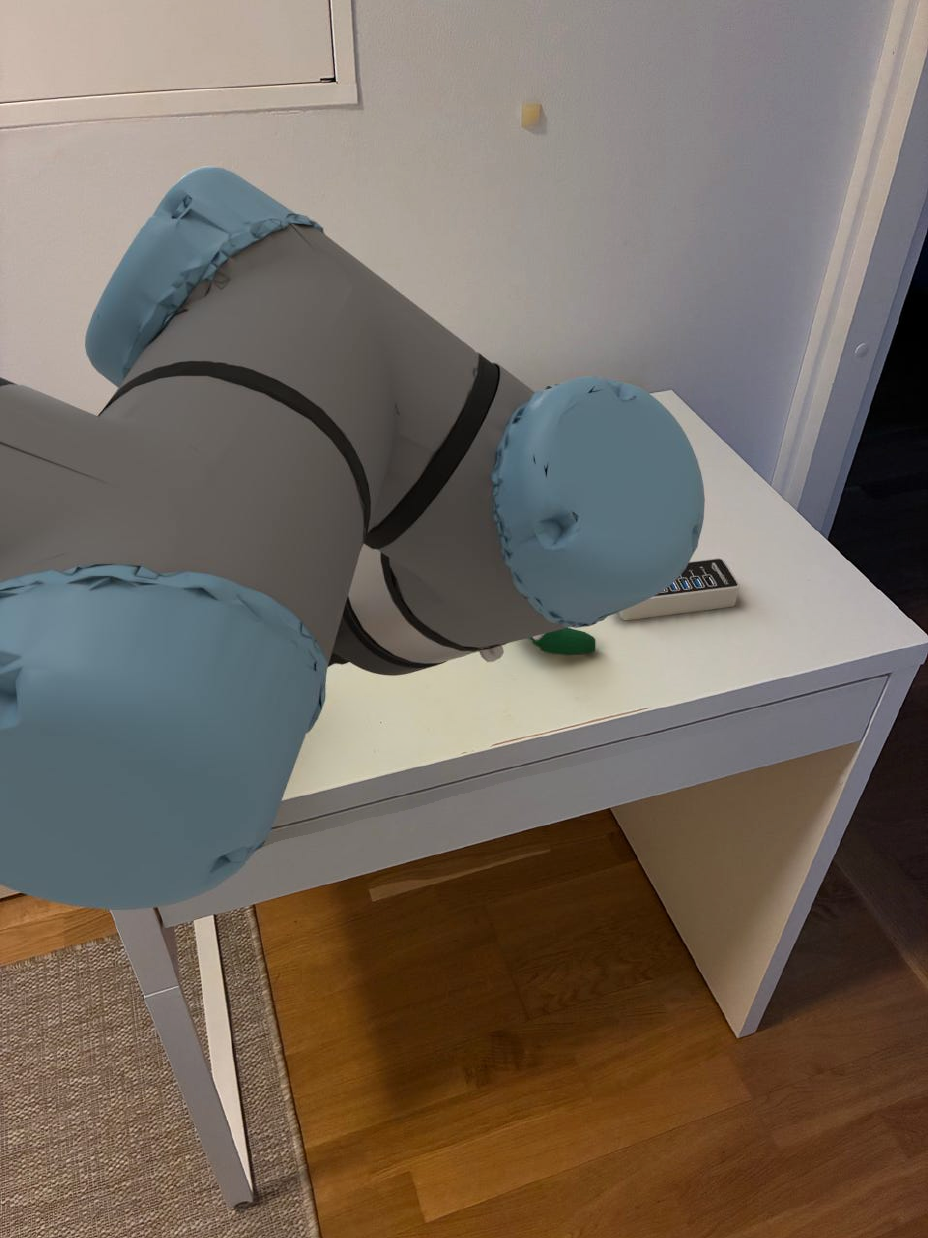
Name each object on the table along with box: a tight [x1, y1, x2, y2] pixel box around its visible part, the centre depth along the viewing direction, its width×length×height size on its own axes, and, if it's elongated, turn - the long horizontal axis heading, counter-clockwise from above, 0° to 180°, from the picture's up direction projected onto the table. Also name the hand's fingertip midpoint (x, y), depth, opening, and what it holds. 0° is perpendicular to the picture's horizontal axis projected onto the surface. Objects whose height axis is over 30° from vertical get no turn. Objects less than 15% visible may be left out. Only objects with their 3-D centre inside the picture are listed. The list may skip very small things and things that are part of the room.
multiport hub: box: [617, 557, 741, 621], centre depth 88 cm, size 4×11×2 cm, turn 101°
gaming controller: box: [529, 627, 596, 656], centre depth 84 cm, size 9×4×6 cm
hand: (274, 651), depth 61 cm, fingers open, 13 cm apart
